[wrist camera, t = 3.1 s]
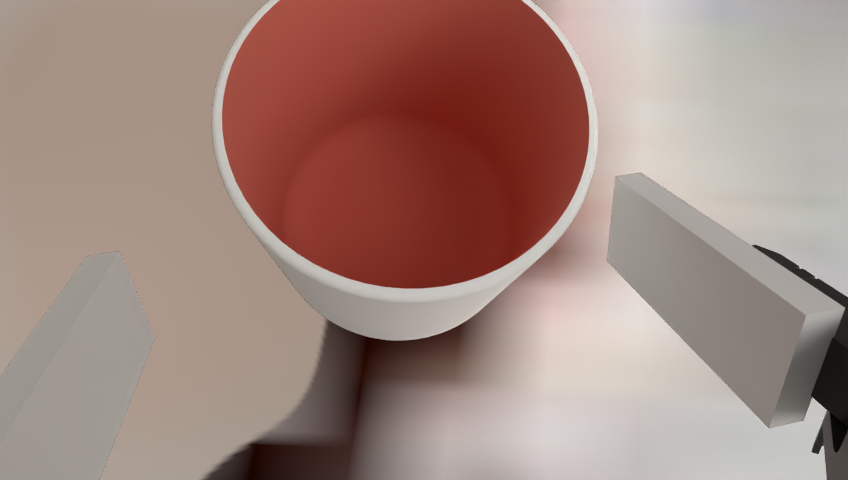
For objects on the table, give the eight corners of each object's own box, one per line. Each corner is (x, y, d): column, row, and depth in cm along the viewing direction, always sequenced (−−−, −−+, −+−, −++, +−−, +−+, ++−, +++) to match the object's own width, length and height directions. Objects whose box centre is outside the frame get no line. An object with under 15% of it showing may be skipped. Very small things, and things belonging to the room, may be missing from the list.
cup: (476, 376, 22) (550, 359, 12) (242, 299, 22) (137, 222, 12) (535, 163, 25) (633, 15, 15) (329, 96, 25) (298, -93, 15)
